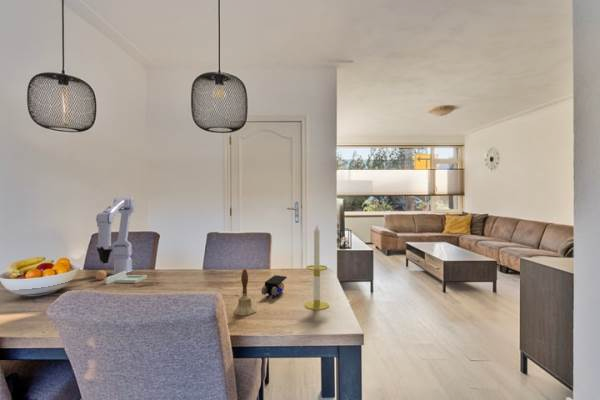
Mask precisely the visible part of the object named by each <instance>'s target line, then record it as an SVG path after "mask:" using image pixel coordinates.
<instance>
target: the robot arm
mask: <svg viewBox="0 0 600 400" xmlns="http://www.w3.org/2000/svg"><path fill="white" fill-rule="evenodd" d="M135 205H136V203H135V198H134V197H133V196H131V197H128V196H127V197H125V196H124V197H123V196H121V197H118V196H117V197H115V198H114V199H113V203H112V205H108V206H107V207H106V208H105V209H104V210H103V212H99V213H97V215H96V217H95V221H96V226H97V228H98V230H97V231H98V232H97V234H98V235H97V244H94V245H95V247H96V251H97V253H98V255H99V260H100V262H102V264H108V263H109V259H110V255H111V257H112V258H113V259H114V264H113V265H114V269H113V272H111V273H110V275H115V274H118V273H120V272H123V271H126V274H128V273H132V272H133V271H134V269H133V260H132V258H131V256H132V254H133V244H132V243H131V242H130V241H128V237H129V229H130V222H131V215H132V213H134V212H135ZM118 213H119V214H121V216H120V220H119V221H120V223H119V230H118V235H117V240H116V241H114V242H113V243H112V224H113V223H114V219H115V217H116V216H117V215H118ZM98 247H99V248H98ZM110 247H111V248H110Z"/></svg>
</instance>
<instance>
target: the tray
mask: <svg viewBox="0 0 600 400" xmlns="http://www.w3.org/2000/svg"><path fill="white" fill-rule="evenodd" d="M147 278H148V275H146V274H145V275H144V274H142V275H140V274H139V275H137V274H135V275H134V274H132V275H131V274H128V275H127V274H126V276H125V277H122V278H119V279H117V280H116V281H115V283H118V284H122V283H124V284H137V283H139V282H142V281H144V280H146V279H147Z"/></svg>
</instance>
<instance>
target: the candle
mask: <svg viewBox="0 0 600 400" xmlns="http://www.w3.org/2000/svg"><path fill="white" fill-rule="evenodd" d="M313 233H314V234H313V260H314V261H313V264H311V265H306V267H305V268H306V270H309V271H313V300H312V301H308V302H305V303H304V308H306V309H309V310H313V311H322V310H326V309H329V308H330V305H329V303H328V302H325V301H322V300H321V271H326V270H327V269H328V267H327V266H326V265H321V264H320V229H319V228H318V225H316V226H315V229H314V231H313Z"/></svg>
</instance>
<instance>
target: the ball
mask: <svg viewBox="0 0 600 400" xmlns="http://www.w3.org/2000/svg"><path fill="white" fill-rule="evenodd" d="M94 277H95V278H96V280H98V281H101V280H102V281H103V280H105V278H107V272H106V271H105V270H103V269H100V270H98V271H96V272H95V276H94Z"/></svg>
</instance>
